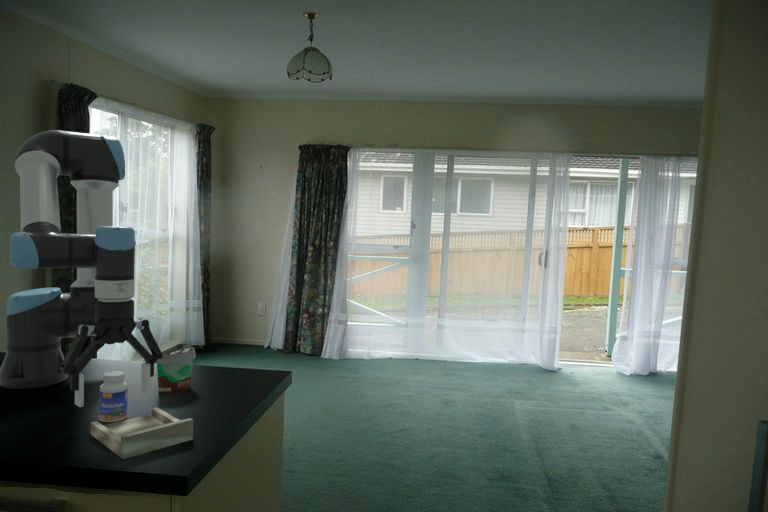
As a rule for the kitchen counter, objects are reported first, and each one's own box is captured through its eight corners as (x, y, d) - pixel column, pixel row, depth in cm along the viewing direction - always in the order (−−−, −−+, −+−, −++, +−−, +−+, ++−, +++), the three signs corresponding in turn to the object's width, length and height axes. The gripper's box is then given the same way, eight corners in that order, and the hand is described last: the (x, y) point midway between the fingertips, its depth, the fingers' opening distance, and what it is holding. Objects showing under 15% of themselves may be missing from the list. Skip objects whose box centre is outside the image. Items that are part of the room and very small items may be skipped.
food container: (177, 398, 131) (178, 357, 130) (154, 395, 132) (155, 355, 132) (204, 384, 143) (205, 346, 143) (183, 381, 144) (184, 344, 144)
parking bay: (90, 434, 108) (90, 414, 108) (156, 418, 118) (157, 400, 118) (123, 459, 98) (123, 437, 98) (192, 439, 108) (193, 419, 108)
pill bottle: (97, 424, 113) (98, 378, 113) (99, 415, 118) (100, 371, 118) (126, 421, 116) (127, 376, 115) (127, 412, 120) (128, 369, 120)
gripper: (54, 306, 103) (54, 416, 104) (179, 297, 122) (178, 390, 123) (42, 301, 108) (41, 406, 109) (163, 293, 127) (162, 383, 128)
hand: (113, 398), depth 116 cm, fingers open, 13 cm apart
